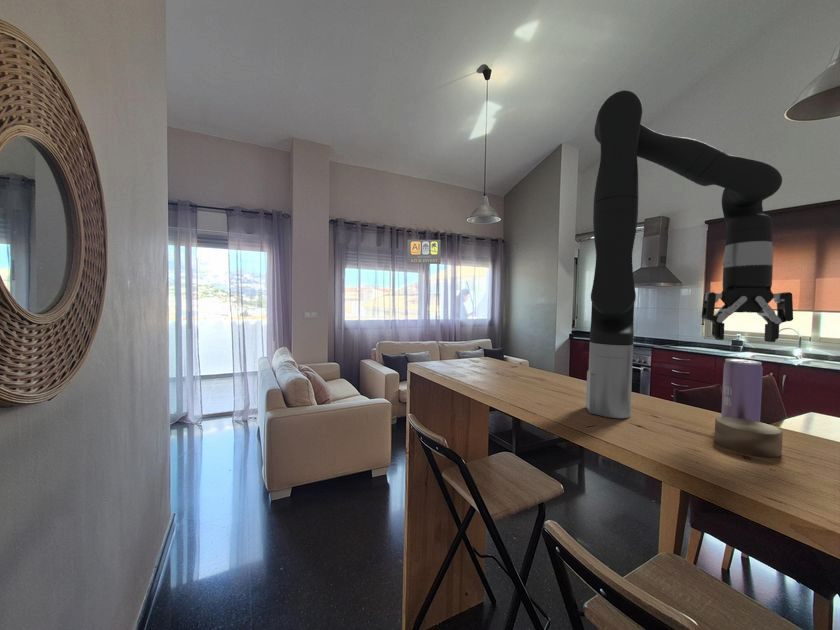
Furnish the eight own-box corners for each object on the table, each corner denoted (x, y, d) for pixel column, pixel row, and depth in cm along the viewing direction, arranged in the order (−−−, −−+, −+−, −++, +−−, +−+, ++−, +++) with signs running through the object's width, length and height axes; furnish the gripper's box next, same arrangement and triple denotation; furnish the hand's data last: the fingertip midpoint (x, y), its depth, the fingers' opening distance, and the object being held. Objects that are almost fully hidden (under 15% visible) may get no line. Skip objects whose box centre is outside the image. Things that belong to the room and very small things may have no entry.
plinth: (729, 452, 59) (730, 429, 59) (705, 434, 68) (706, 414, 68) (795, 461, 56) (796, 437, 56) (761, 441, 65) (762, 420, 64)
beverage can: (767, 436, 67) (771, 363, 67) (733, 433, 69) (737, 362, 68) (745, 425, 73) (748, 359, 73) (714, 423, 74) (717, 357, 74)
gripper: (714, 264, 69) (711, 340, 69) (805, 261, 64) (801, 344, 64) (698, 268, 76) (695, 337, 76) (778, 266, 71) (775, 340, 71)
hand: (744, 340), depth 70 cm, fingers open, 8 cm apart
